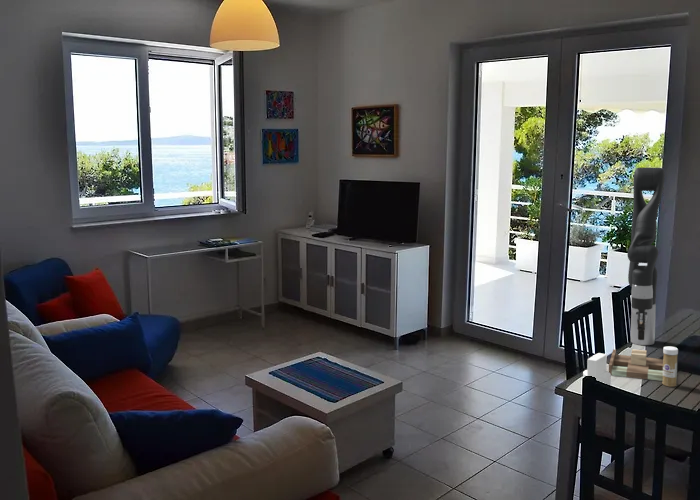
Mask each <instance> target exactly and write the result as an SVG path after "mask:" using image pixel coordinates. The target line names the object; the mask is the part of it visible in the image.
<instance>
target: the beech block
mask: <svg viewBox="0 0 700 500" xmlns="http://www.w3.org/2000/svg"><path fill="white" fill-rule="evenodd" d="M647 353H648V352H647V350H646V349H645V350H643V349H634V348H633V349H631V355H630V356H631V364H634V365H644V366H646V357H647Z"/></svg>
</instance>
